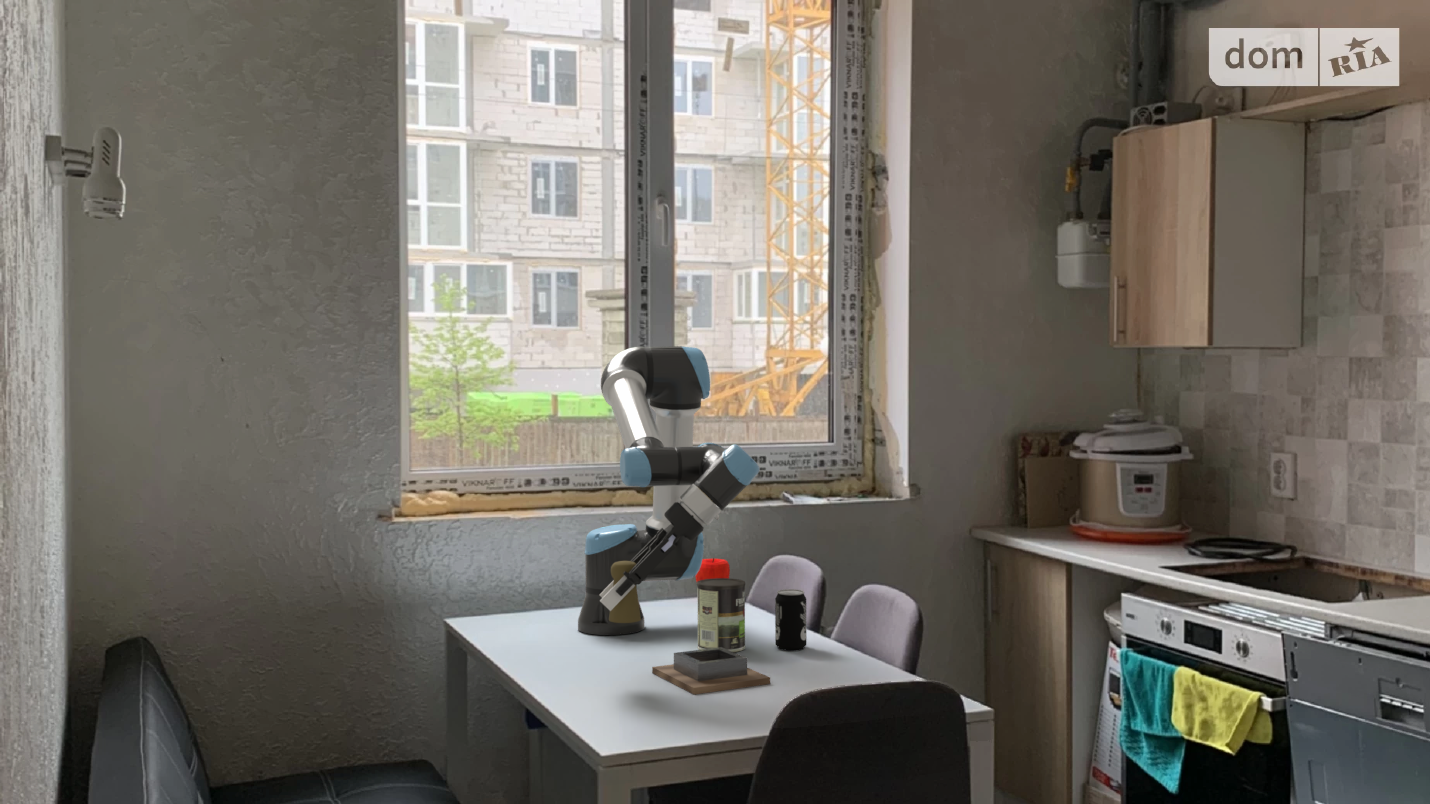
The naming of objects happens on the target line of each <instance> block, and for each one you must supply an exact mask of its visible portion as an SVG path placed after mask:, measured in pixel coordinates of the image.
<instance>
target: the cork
mask: <svg viewBox="0 0 1430 804" xmlns="http://www.w3.org/2000/svg"><path fill="white" fill-rule="evenodd" d="M635 565H636V563H635V562H631V561H619V562H615V563H614V564H613V565H612V566H611V575H612V577H613V579H614V582H613V586H614V585H615V584H616V583H617V582H618V581H619V580H620V579H621V578H622V577H623V576H624V574H623V573H624V571H626V572H627V573H629V572H630V571H631V570H632V569H633V567H634V566H635ZM638 600H639V596H638V588H637V587H636V585H635V586H634V587H633V588H632V589H631V590H630V592H629V593H628V594H627V595H626V596H625V597H624V598H623V599H622V600H621V601H620V602H619V603H618V604H617V605H616V606H615V607H614V608H613V609H612V610H611V611H610V614H609V621H611V622H615V623H632V622H638V621H640V620H641V617H640V609H639V603H640V601H639V602H638Z"/></svg>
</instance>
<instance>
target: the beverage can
mask: <svg viewBox="0 0 1430 804" xmlns="http://www.w3.org/2000/svg"><path fill="white" fill-rule="evenodd" d="M776 592H777V594H776V597H775V598H774V599H775V600H774V605H775V606H774V608H775V609H774V611H775V612H774V615H775V616H774V624H775V625H774V626H775V628H774V629H775V630H774V631H775V634H774V635H775V637H774V638H775V639H774V640H775V642H774V643H775V646H776V647H777V649H779V650H780V651H781V650H782V651H788V652H789V651H790V652H796V651H801V650H804V649H805V647H806V646H807V645H808V644H807V597H806V595H805V591H804V590H802V589H795V588H790V589H789V588H787V589H785V588H784V589H780V590H777V591H776Z"/></svg>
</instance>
